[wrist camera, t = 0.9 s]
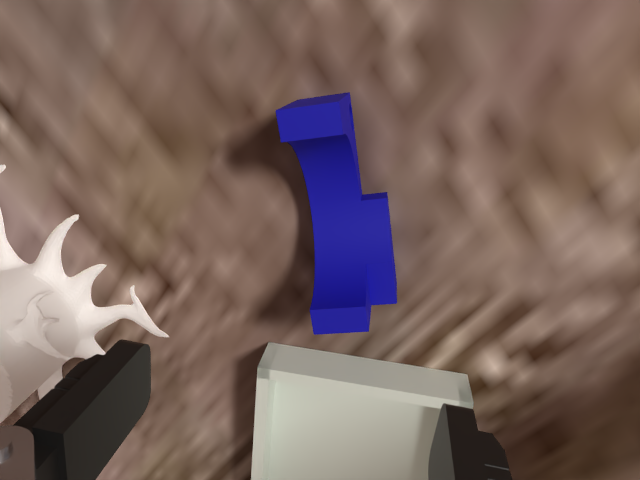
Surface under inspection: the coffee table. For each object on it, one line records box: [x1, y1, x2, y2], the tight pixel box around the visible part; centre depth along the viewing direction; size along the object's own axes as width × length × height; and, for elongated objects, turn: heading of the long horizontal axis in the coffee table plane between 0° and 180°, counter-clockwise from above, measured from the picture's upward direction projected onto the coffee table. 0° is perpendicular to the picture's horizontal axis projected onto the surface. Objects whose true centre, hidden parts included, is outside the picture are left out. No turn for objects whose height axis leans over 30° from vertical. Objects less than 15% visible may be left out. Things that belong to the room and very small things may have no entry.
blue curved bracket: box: [276, 92, 397, 334], centre depth 28 cm, size 12×4×6 cm, turn 8°
